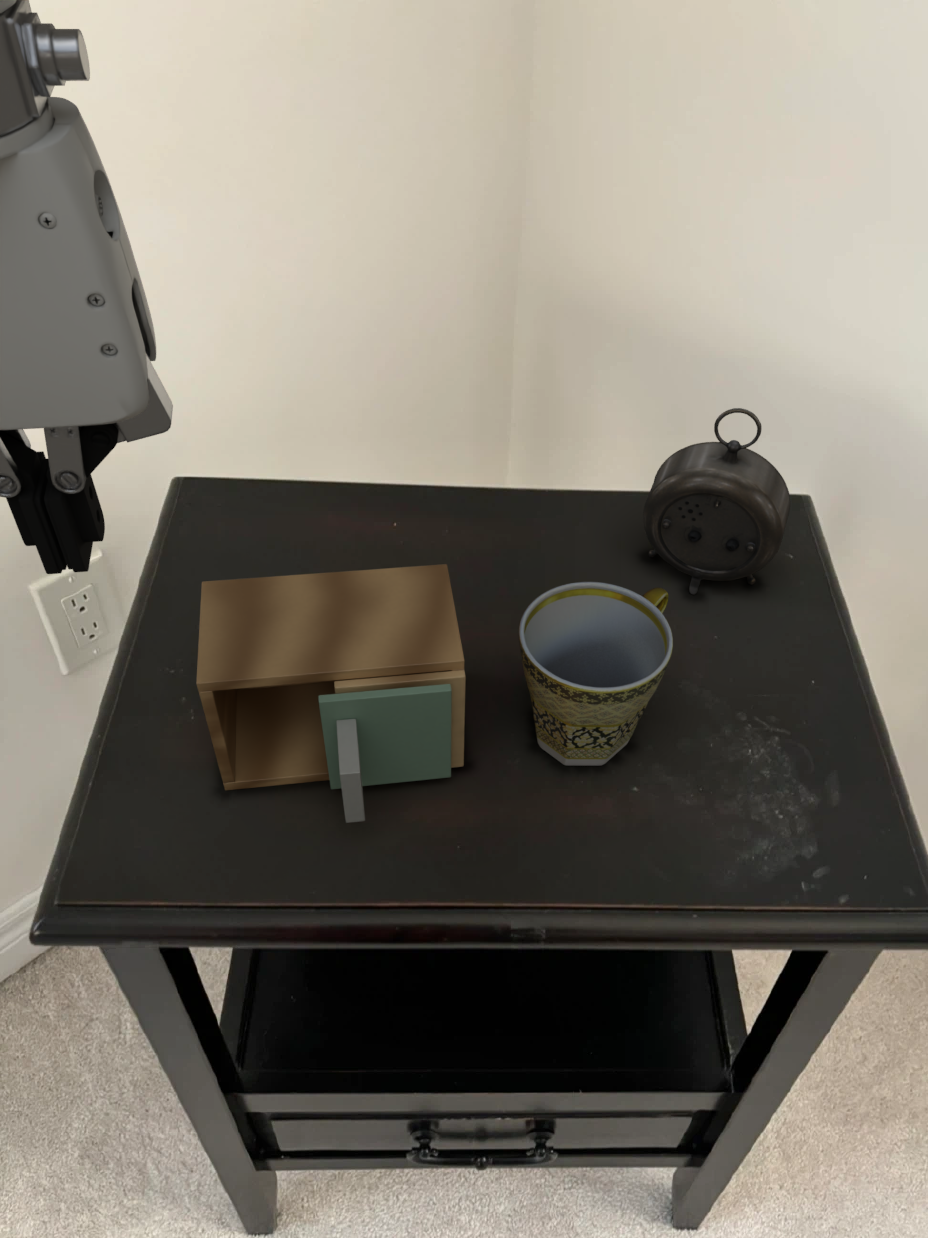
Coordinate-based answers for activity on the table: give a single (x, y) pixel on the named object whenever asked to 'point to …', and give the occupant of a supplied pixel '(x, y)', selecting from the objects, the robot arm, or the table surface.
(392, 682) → the cabinet
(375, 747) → the sliding door
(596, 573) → the table surface
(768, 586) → the table surface
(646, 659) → the ceramic cup
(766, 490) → the alarm clock
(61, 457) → the robot arm
